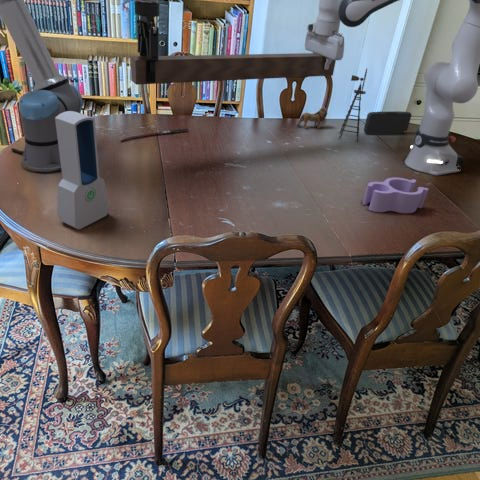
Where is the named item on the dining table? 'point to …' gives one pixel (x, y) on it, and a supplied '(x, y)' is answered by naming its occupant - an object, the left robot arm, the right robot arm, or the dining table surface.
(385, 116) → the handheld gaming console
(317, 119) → the lion figurine
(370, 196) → the clip
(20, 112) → the left robot arm
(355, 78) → the miniature windmill
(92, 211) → the electronic device
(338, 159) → the dining table surface
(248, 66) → the post
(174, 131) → the sword
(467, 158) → the dining table surface
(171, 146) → the dining table surface
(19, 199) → the dining table surface
